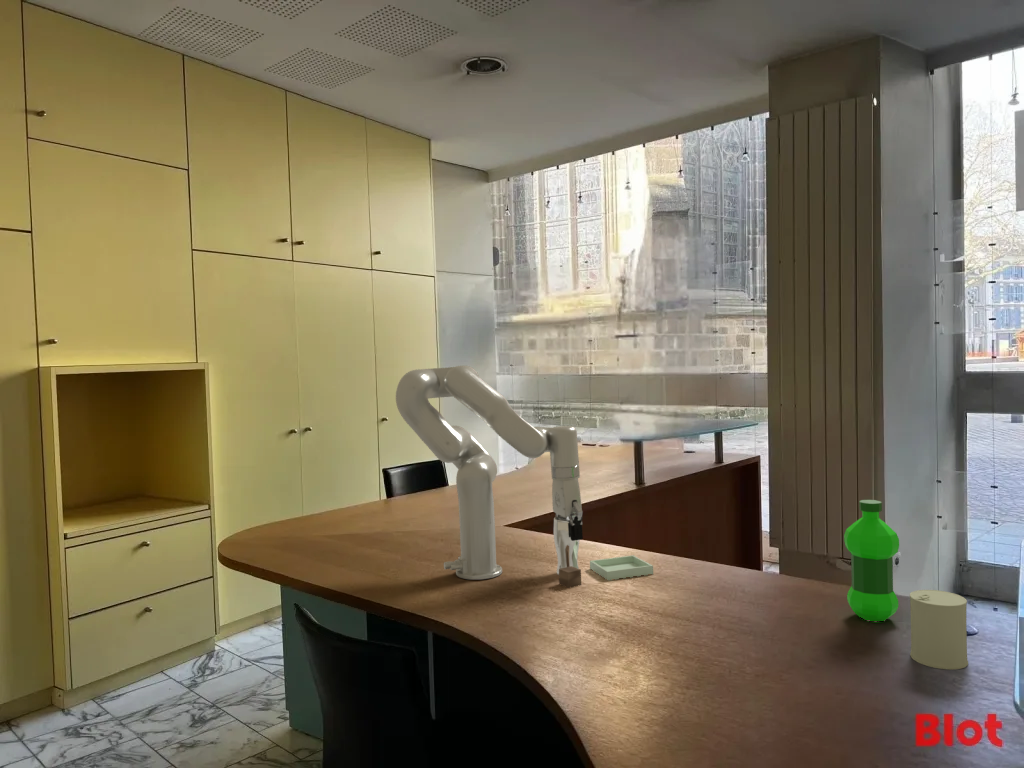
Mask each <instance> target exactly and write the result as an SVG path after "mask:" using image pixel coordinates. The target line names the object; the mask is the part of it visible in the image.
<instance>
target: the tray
mask: <svg viewBox="0 0 1024 768" xmlns="http://www.w3.org/2000/svg"><path fill="white" fill-rule="evenodd" d="M589 569H590V570H591V569H592V570H593V571H592V570H591V571H592V572H594V571H595V572H596V573H595V572H594V573H595V574H597V573H598V574H599V575H598V574H597V575H598V576H600V575H601V576H602V578H603V577H604V578H605V579H604V578H603V579H604V580H606V579H607V580H608V581H613V580H612V579H615V580H620V579H619V578H623V579H627V578H626V577H630V578H634V577H633V576H637V577H642V576H641V575H644V576H649V575H648V574H652V575H654V565H652V564H651V563H649V562H647V561H645V560H644V559H641V558H639V557H638V556H636V555H634V554H633V555H623V556H616V557H615V556H614V557H611V558H610V557H609V558H599V559H595V560H594V559H593V560H589ZM601 576H600V577H601ZM607 580H606V581H607Z"/></svg>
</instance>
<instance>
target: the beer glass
mask: <svg viewBox="0 0 1024 768" xmlns="http://www.w3.org/2000/svg"><path fill="white" fill-rule="evenodd" d="M574 518H575V517H573V520H574ZM570 525H571V522H570V520H569V517H568V516H567V517H566V518H564V517H562V516H557V517H556V516H555V517H554V518H553V540H554V546H555V551H556V555H557V556H556V558H557V567H556V575H557V576H559V569H561V568H565V567H570V566H572V567H575V568H578V569H580V568H579V564H578V563H579V562H578V556H579V547H580V540H575V541H572V540H571V535H570Z"/></svg>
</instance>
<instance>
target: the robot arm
mask: <svg viewBox="0 0 1024 768" xmlns="http://www.w3.org/2000/svg"><path fill="white" fill-rule="evenodd" d="M450 397H454V398H455V399H456V400H457V401H458V402H460V403H461V404H462V405H463V406H465V407H466V408H467V409H469V411H471V412H472V413H473V414H474V415H476V416H477V417H478V418H480V419H481V420H482V421H484V423H485V424H486V425H487V427H489V428H491V430H492V431H494V432H495V433H496V434H497V435H498V436H499V437H500V438H501V439H502V440H503V441H505V442H506V443H507V444H508V445H509V446H511V448H513V449H514V450H516V452H518V453H520V454H521V455H522V456H524V457H526V458H529V459H538V458H540V457H541V456H543V455H544V454H545V453H549V457H550V470H551V471H550V473H551V480H552V484H551V487H552V489H551V493H552V494H551V495H552V496H551V499H552V502H551V504H552V511H553V513H555V517H557V516H562V517H564V518H566V517H567V516H568V517H569V520H570V522H571V525H570V535H571V540H572V541H575V540H583V539H584V536H583V535H584V534H583V509H582V496H581V489H580V482H579V478H581V474H580V471H581V470H580V461H579V458H580V457H579V445H578V433H577V431H578V430H577V429H576V428H575V426H571V425H560V426H554V427H547V426H532V424H530V423H529V422H528V421H526V420H524V418H522V417H521V415H519V414H518V413H517V412H516V411H515V410H514V409H513V408H512V406H511V404H510V403H509V401H508V400H507V398H506V397H505V396H504V395H503V394H501V393H500V392H499V391H498V390H497V389H495V388H493V387H492V386H491V385H490V384H488V383H487V381H485V380H483V379H482V378H481V377H480V375H479V374H478V372H477V370H476V369H474V368H473V367H472V366H470V365H456V366H452V367H451V366H449V367H437V368H422V369H419V368H418V369H412V370H410V371H408V372H406V373H405V374H404V375H403V376H402V377H401V379H400V380H399V382H398V384H397V386H396V391H395V402H396V406H397V407H396V408H397V410H398V412H399V415H400V416H401V417H402V419H403V420H404V421H405V423H406V424H407V425H408V426H409V427H410V429H412V430H413V432H414V433H415V434H416V435H417V436H418V437H419V439H420V440H421V441H422V442H423V443H424V444H425V446H426V447H428V449H429V450H430V451H431V453H432V454H433V455H434V456H435V457H436V459H438V460H439V461H441V462H443V463H446V464H453V465H454V466H455V467H456V468H457V473H456V476H455V477H456V478H455V480H456V481H455V482H456V490H457V493H456V494H457V499H458V514H459V515H458V517H459V535H460V536H459V537H460V539H459V540H460V541H459V543H460V556H457V557H458V559H455V560H454V561H444V562H443V569H444V570H450V571H455V575H456V576H457V577H458V578H460V579H465V580H471V581H472V580H474V581H475V580H479V581H480V580H488V579H492V578H496V577H498V576H500V575H501V574H502V573H503V567H502V566H501V565H500V564H498V563H497V547H496V545H497V544H496V523H495V522H496V521H495V519H496V518H495V504H494V502H495V501H494V492H493V482H494V481H495V479H496V477H497V475H498V467H497V464H496V461H495V460H494V458H493V457H492V456H491V454H489V452H488V451H487V450H486V449H485V448H484V447H483V446H482V445H481V444H480V442H479V441H478V440H477V439H476V438H475V437H474V436H473V435H472V434H471V433H470V432H469V431H468V430H467V429H465V428H463V427H461V426H459V425H451V423H450V422H448V420H447V419H446V418H445V417H443V415H442V414H441V413H440V411H438V410H437V408H435V407H434V406H433V405H432V404H431V403H430V401H429V400H430V399H437V398H439V399H440V398H450ZM573 517H575V518H574V520H573Z"/></svg>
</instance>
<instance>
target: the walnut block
mask: <svg viewBox="0 0 1024 768" xmlns="http://www.w3.org/2000/svg"><path fill="white" fill-rule="evenodd" d="M558 580H559V581H558V583H559V585H560V584H561V586H562V587H565V586H566V587H565V588H567V589H570V587H571V588H574V586H575V587H578V585H579V586H582V569H580V568H579V569H578V568H575V567H572V566H570V567H565V568H561V569H559V575H558Z"/></svg>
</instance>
